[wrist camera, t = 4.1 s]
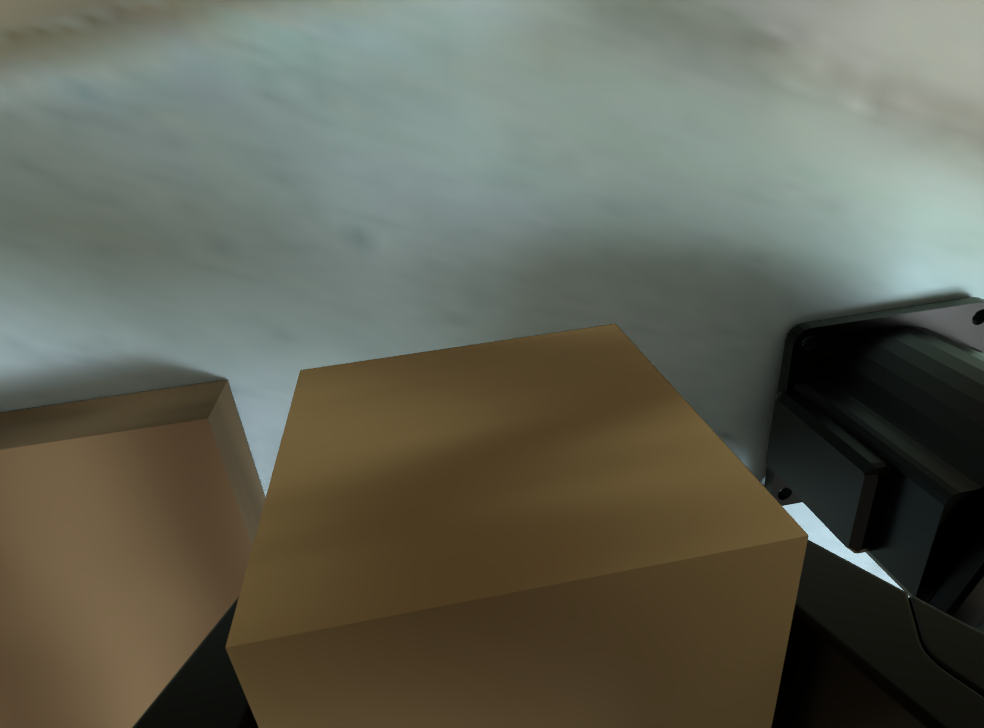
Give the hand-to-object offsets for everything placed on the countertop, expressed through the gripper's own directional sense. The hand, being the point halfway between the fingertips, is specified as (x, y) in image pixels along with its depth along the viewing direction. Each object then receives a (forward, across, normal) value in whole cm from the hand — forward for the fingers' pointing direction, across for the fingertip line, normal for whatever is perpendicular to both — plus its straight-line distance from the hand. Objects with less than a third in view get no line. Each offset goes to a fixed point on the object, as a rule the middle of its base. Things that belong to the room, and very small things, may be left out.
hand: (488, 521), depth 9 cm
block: (+1, 0, 0) cm, 1 cm away
